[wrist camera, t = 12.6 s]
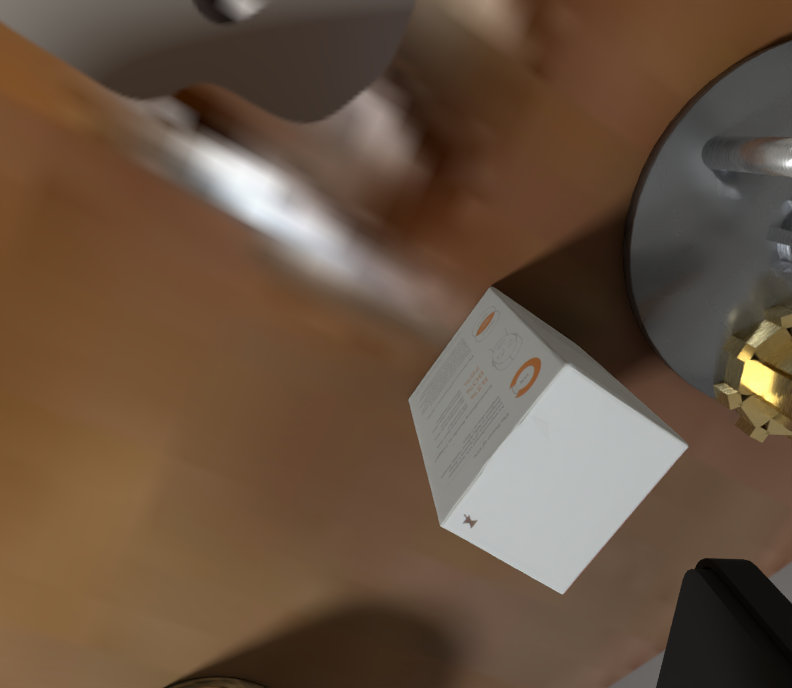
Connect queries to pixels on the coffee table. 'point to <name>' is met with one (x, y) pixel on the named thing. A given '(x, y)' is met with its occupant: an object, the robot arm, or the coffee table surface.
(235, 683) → the jar
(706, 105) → the carrier
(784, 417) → the gear
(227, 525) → the coffee table surface
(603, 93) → the coffee table surface
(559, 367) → the small box
